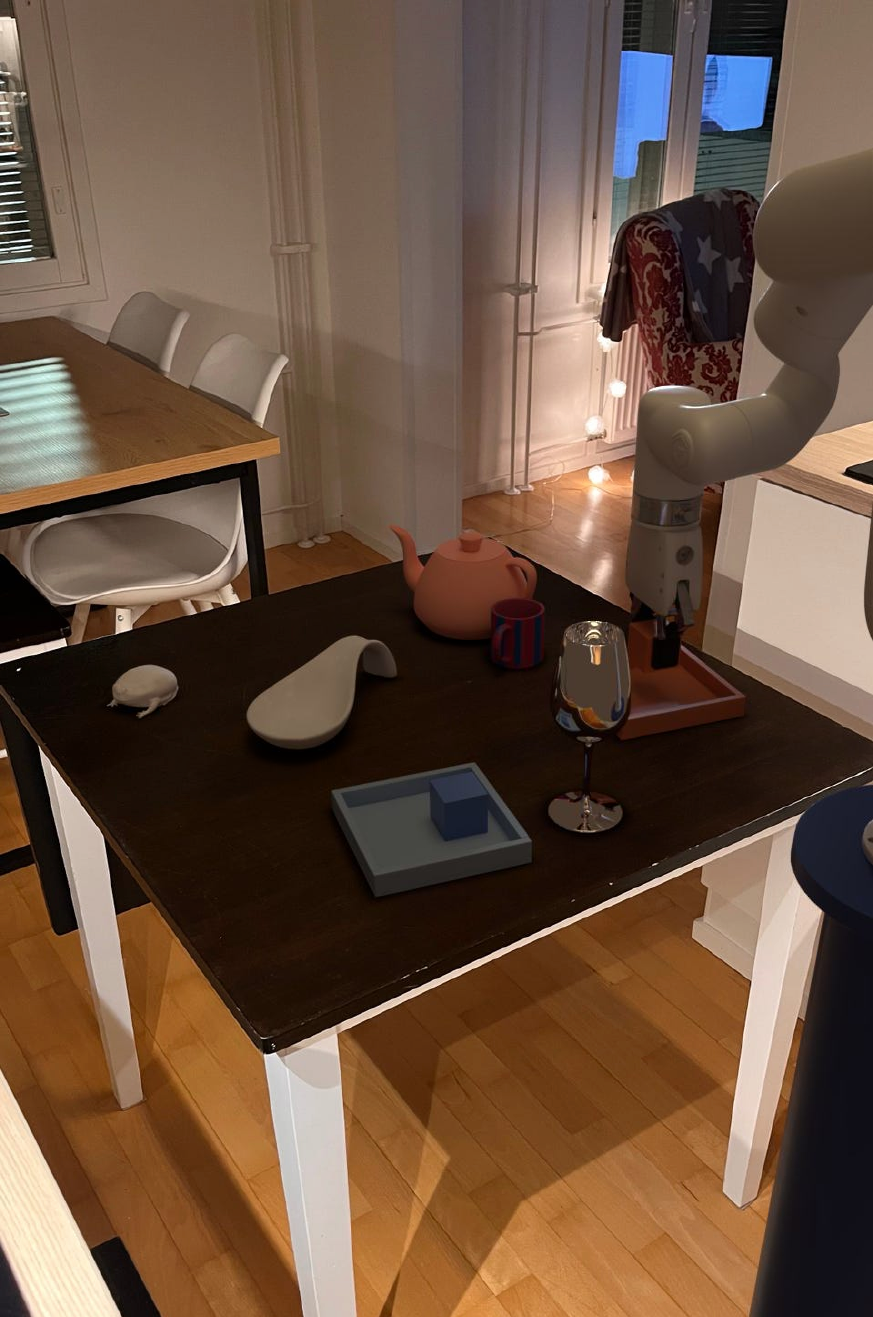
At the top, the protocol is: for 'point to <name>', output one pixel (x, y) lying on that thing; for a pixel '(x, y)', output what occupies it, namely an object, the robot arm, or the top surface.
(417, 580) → the teapot
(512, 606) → the mug
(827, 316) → the robot arm
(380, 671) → the spoon rest
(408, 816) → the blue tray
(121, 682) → the frog figurine
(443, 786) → the blue block
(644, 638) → the terracotta block
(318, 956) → the top surface
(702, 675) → the terracotta tray
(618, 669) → the wineglass
